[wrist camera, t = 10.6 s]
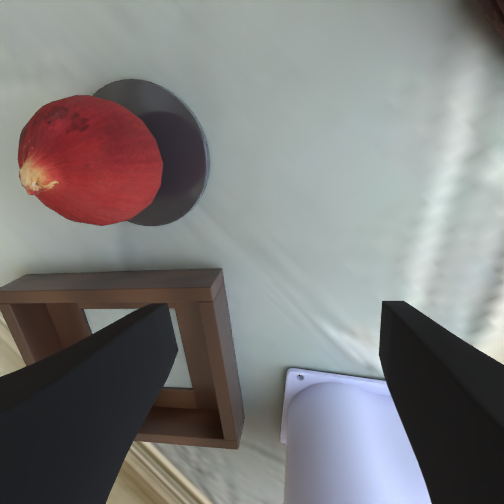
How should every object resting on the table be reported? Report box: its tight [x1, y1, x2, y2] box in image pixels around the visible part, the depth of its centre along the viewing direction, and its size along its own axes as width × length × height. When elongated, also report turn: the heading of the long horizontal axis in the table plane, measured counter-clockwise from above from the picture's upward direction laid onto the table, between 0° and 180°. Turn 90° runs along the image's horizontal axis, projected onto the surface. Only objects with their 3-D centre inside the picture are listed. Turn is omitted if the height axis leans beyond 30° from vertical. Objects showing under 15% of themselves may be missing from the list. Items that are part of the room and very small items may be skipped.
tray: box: [0, 269, 245, 449], centre depth 22 cm, size 16×14×3 cm
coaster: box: [93, 79, 210, 226], centre depth 18 cm, size 8×8×1 cm
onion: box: [18, 95, 163, 226], centre depth 14 cm, size 6×6×8 cm
